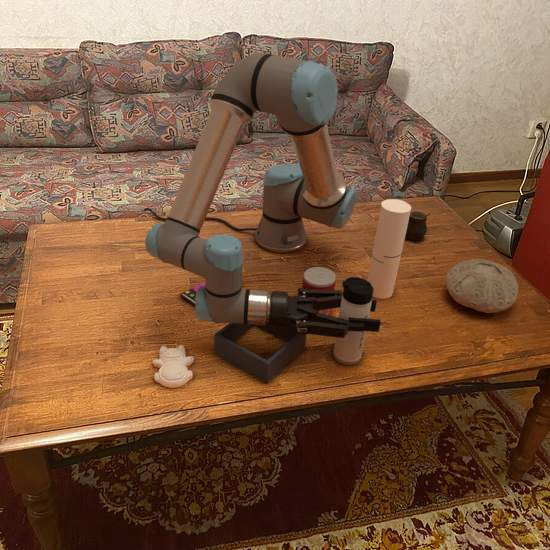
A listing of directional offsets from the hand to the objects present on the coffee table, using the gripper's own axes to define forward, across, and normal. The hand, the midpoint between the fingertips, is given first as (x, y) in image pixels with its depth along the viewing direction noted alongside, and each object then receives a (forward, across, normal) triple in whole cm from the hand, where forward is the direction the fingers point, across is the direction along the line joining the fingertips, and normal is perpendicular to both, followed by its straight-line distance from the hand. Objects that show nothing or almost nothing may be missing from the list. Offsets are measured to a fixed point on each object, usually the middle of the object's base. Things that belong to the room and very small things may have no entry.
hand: (377, 315), depth 118 cm
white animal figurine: (-43, +7, -12) cm, 45 cm away
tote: (-24, 0, -12) cm, 27 cm away
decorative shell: (+31, -25, -12) cm, 42 cm away
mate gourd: (+20, -57, -12) cm, 61 cm away
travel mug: (-5, 0, -12) cm, 13 cm away
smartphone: (-38, -21, -12) cm, 45 cm away
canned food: (-12, -15, -12) cm, 23 cm away
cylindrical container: (+6, -27, -12) cm, 30 cm away
